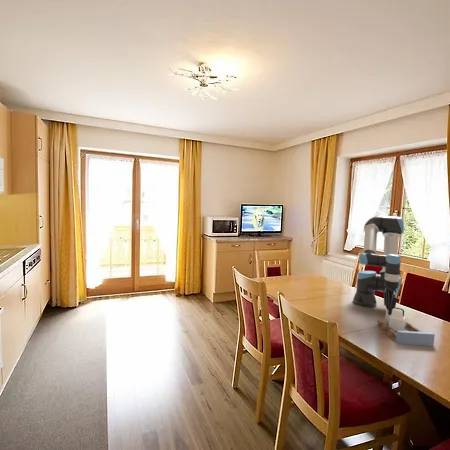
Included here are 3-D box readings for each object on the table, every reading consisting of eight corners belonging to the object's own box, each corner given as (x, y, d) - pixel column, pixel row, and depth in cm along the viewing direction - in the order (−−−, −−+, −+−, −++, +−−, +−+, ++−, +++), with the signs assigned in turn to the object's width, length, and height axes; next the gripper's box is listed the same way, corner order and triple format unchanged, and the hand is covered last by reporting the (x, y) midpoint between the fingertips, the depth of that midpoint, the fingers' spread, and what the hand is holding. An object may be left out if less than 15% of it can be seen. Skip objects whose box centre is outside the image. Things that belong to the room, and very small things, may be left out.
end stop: (396, 341, 145) (397, 330, 144) (430, 344, 144) (432, 332, 143) (398, 343, 143) (399, 332, 142) (433, 345, 142) (434, 334, 141)
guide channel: (377, 325, 165) (377, 320, 165) (407, 327, 164) (408, 322, 164) (396, 341, 145) (396, 336, 145) (430, 344, 144) (431, 338, 144)
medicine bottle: (390, 325, 165) (392, 305, 164) (404, 329, 161) (406, 308, 160) (388, 329, 160) (389, 308, 159) (402, 333, 155) (404, 312, 154)
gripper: (379, 277, 174) (376, 314, 176) (390, 283, 161) (387, 323, 163) (392, 278, 174) (389, 315, 175) (404, 283, 161) (400, 324, 162)
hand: (388, 319), depth 169 cm, fingers closed
